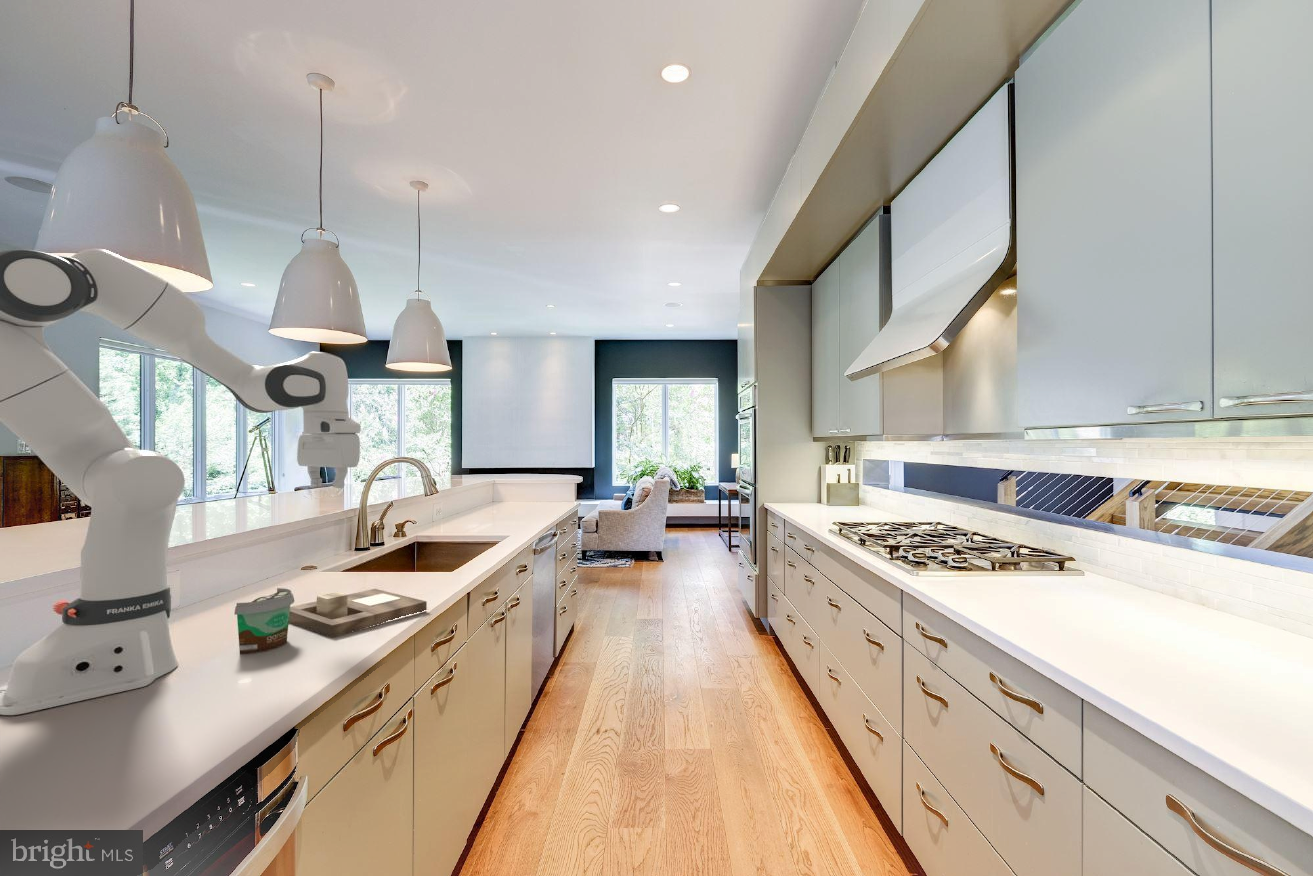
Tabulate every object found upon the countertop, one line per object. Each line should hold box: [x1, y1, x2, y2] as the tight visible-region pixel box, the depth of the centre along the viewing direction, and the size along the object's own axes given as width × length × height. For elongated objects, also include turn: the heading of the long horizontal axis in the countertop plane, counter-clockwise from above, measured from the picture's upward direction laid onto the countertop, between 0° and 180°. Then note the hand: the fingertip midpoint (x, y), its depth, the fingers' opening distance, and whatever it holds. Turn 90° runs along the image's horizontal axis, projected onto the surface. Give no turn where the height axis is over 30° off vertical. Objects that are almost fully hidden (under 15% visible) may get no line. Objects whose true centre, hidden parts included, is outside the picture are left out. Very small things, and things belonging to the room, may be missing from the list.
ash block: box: [316, 591, 348, 620], centre depth 128 cm, size 4×4×6 cm
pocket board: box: [289, 588, 428, 638], centre depth 133 cm, size 22×22×3 cm
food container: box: [234, 587, 295, 655], centre depth 113 cm, size 12×6×10 cm, turn 179°
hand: (327, 487), depth 127 cm, fingers open, 8 cm apart
